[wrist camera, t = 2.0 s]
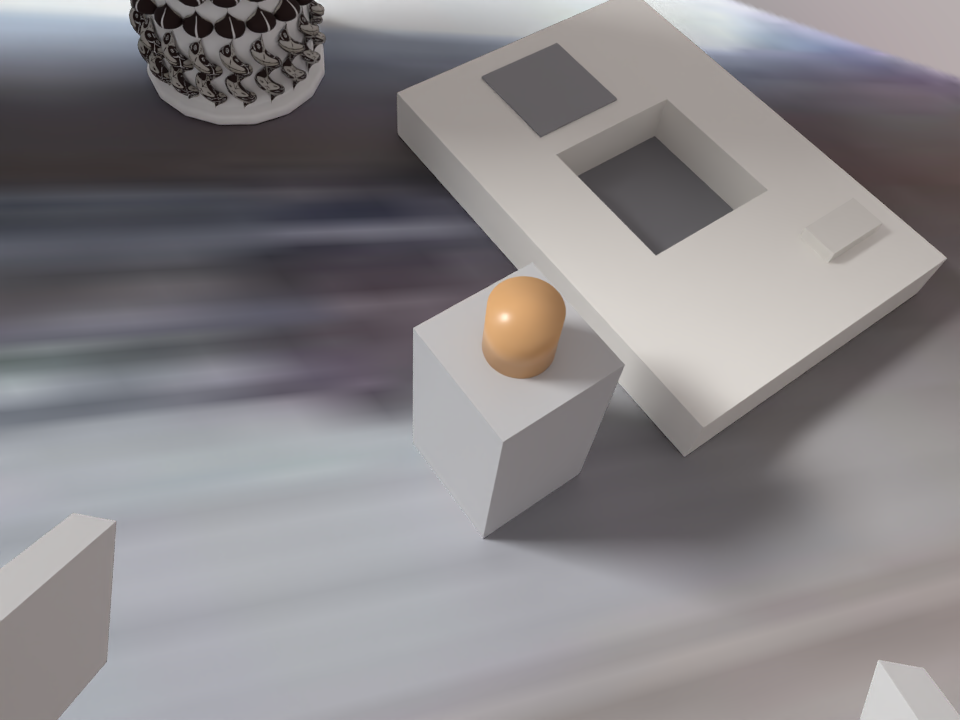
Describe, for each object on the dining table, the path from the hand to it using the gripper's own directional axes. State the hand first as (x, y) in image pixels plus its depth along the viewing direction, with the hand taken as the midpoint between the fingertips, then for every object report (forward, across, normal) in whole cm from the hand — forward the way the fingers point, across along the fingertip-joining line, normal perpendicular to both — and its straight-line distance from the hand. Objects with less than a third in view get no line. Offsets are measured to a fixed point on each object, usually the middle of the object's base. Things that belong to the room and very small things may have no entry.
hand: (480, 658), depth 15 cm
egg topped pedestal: (+18, 0, -3) cm, 18 cm away
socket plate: (+27, +5, +7) cm, 28 cm away
